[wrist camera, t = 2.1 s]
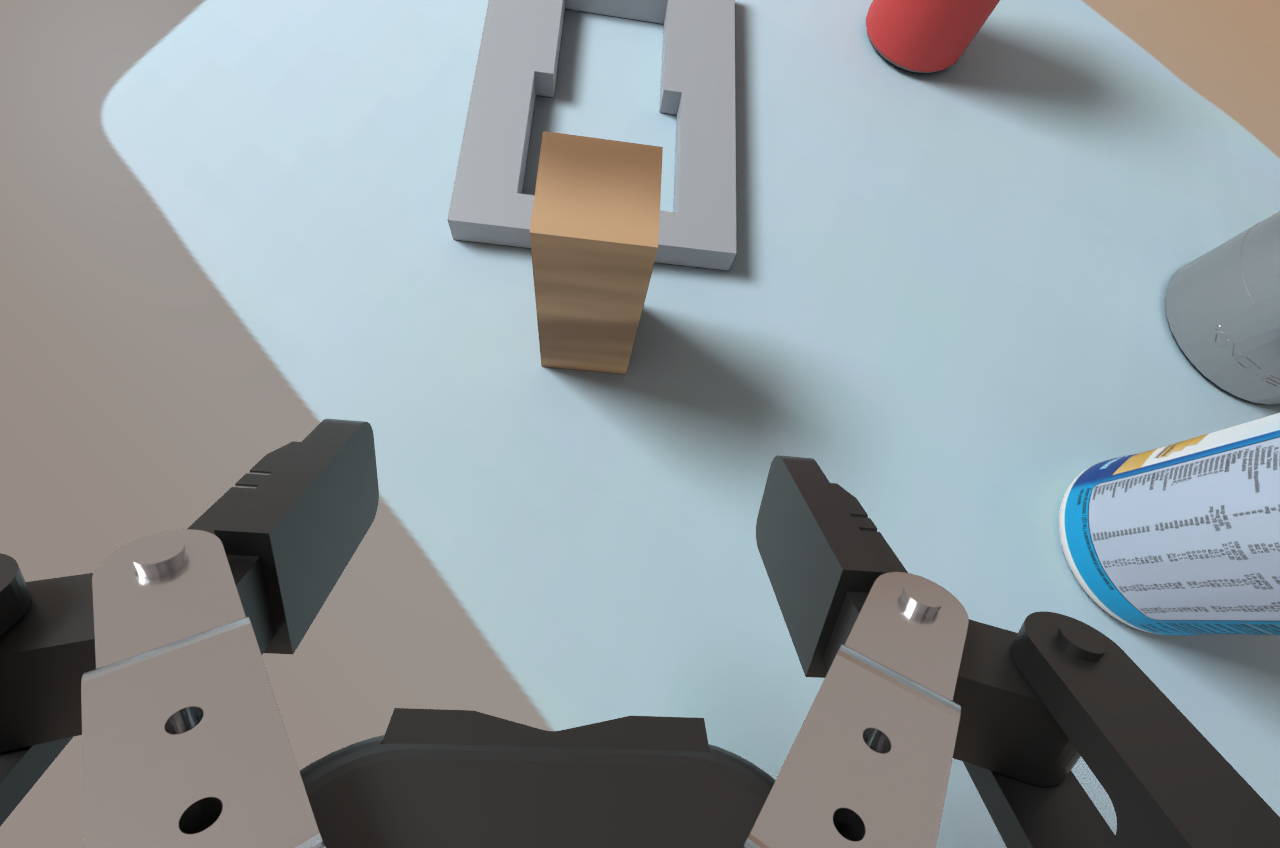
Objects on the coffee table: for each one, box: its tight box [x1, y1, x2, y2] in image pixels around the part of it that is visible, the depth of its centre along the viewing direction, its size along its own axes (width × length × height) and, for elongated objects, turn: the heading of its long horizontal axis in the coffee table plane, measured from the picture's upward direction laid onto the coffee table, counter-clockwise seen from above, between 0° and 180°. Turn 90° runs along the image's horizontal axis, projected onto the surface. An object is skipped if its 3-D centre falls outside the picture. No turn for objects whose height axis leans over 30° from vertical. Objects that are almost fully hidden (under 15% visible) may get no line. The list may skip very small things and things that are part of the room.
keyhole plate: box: [448, 0, 736, 271], centre depth 32 cm, size 20×14×2 cm
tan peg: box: [530, 131, 663, 374], centre depth 23 cm, size 4×4×10 cm
